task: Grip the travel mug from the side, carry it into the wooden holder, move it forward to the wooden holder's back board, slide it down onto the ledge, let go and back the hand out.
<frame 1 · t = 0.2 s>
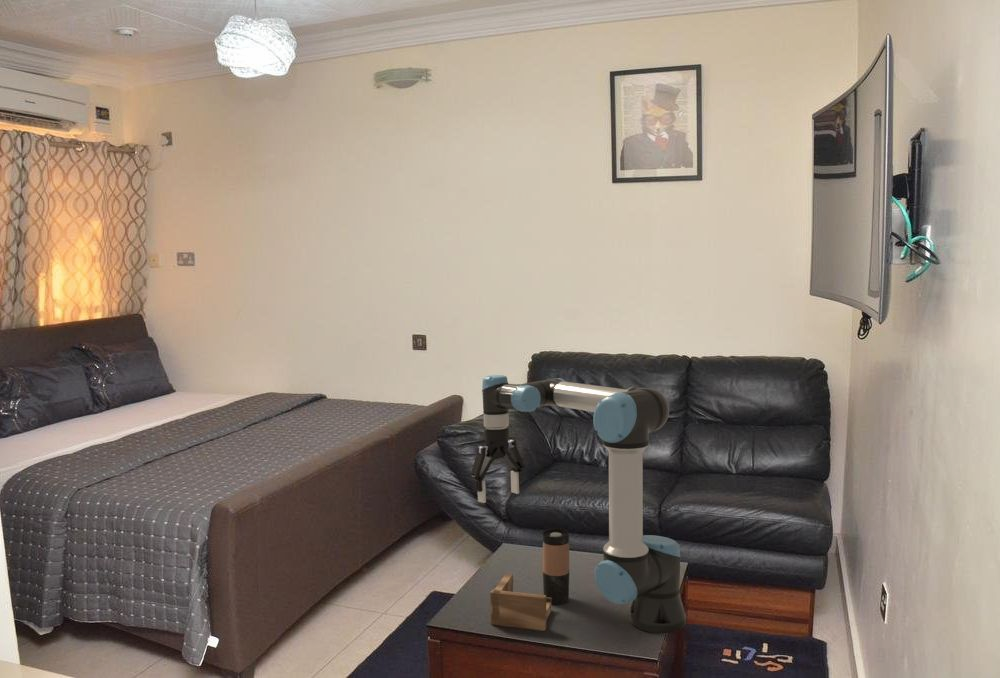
hand: (498, 497, 250), 27 cm above the table, tool pointing down, fingers open, 13 cm apart
travel mug: (556, 600, 241), on the table
wooden holder: (527, 616, 230), on the table
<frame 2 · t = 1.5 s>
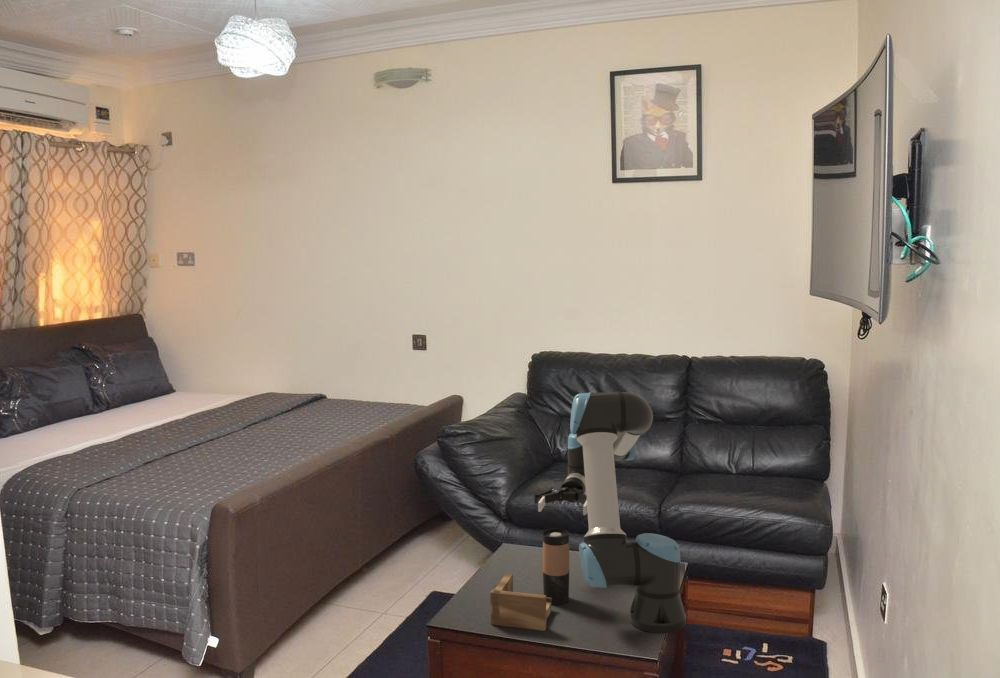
hand: (561, 509, 248), 24 cm above the table, tool horizontal, fingers open, 13 cm apart
nothing on the table moved.
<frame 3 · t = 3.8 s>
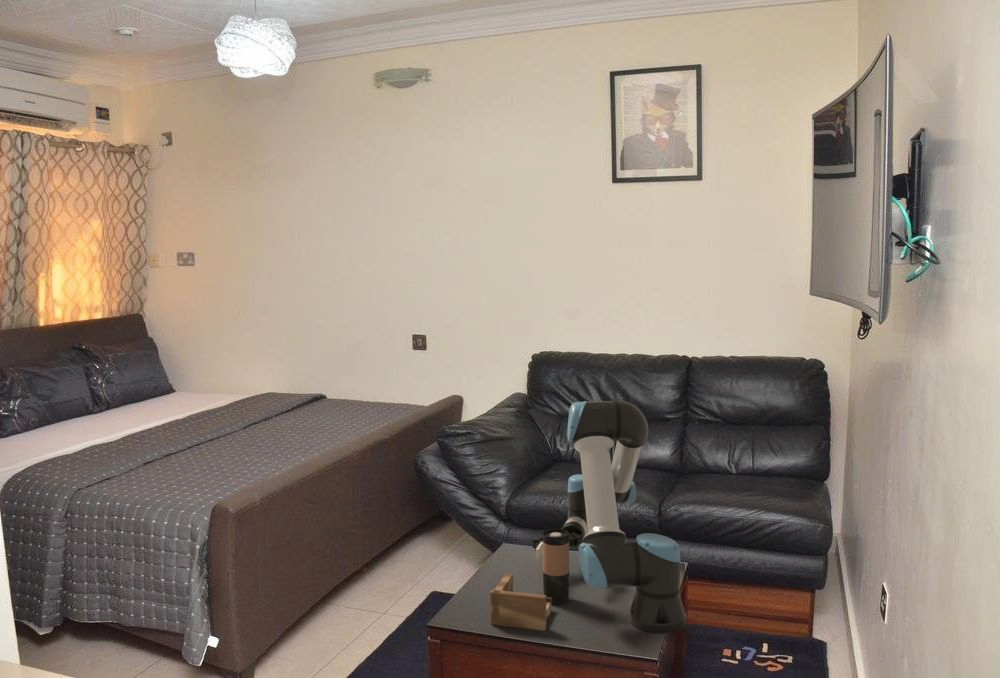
hand: (559, 555, 246), 11 cm above the table, tool horizontal, fingers open, 13 cm apart
nothing on the table moved.
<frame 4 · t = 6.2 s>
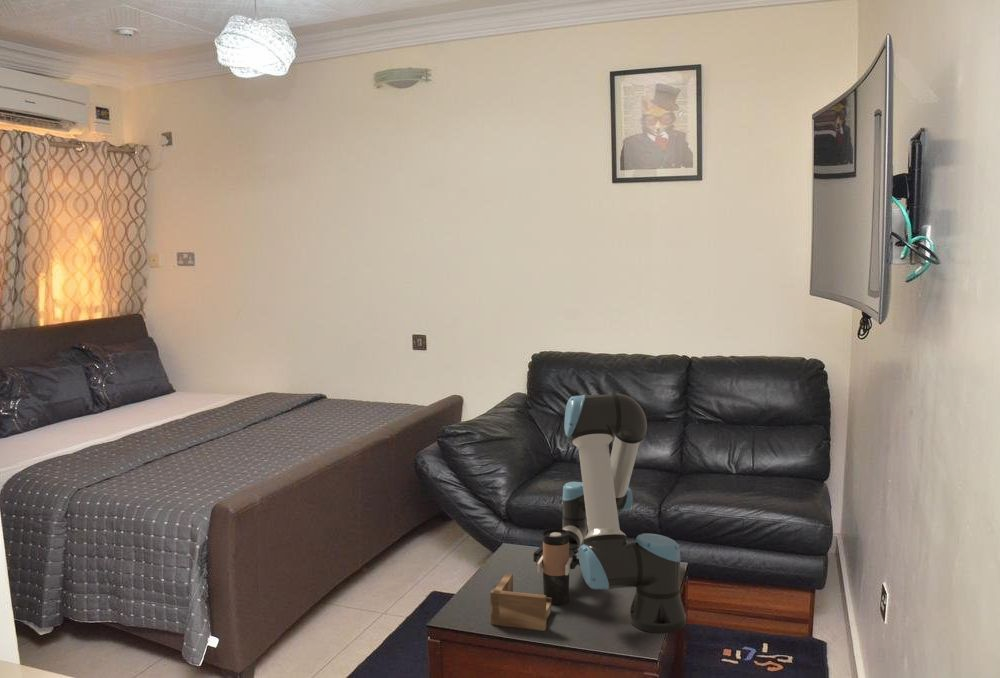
hand: (552, 569, 236), 11 cm above the table, tool horizontal, fingers closed on travel mug, 7 cm apart
travel mug: (556, 600, 241), on the table, touching gripper
everything else where it was.
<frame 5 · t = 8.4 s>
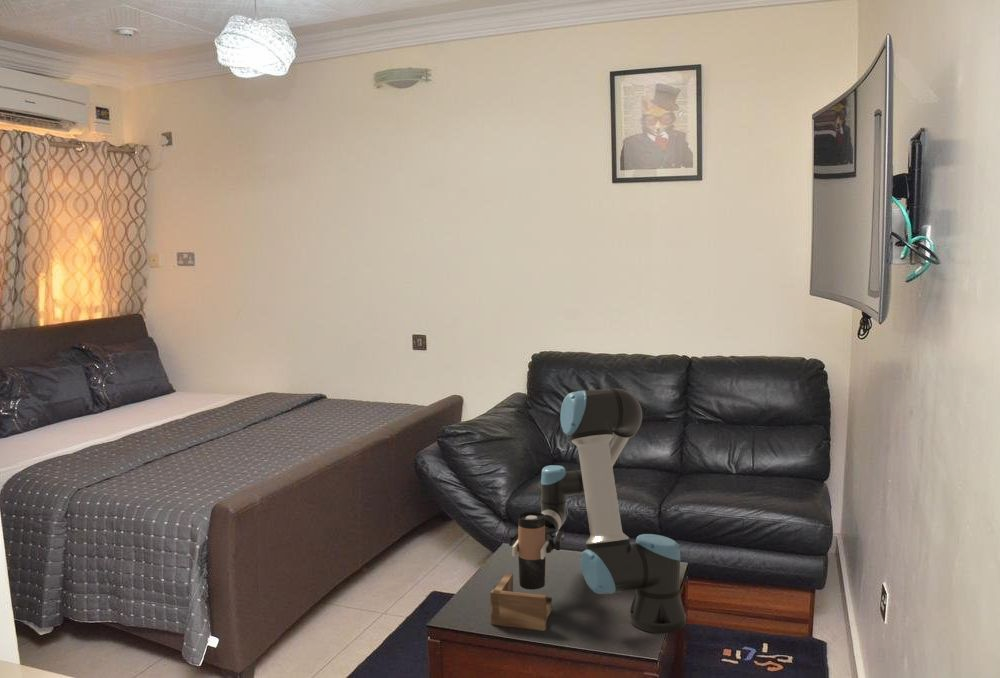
hand: (527, 553, 229), 18 cm above the table, tool horizontal, fingers closed on travel mug, 7 cm apart
travel mug: (532, 585, 235), point 7 cm above the table, touching gripper
everything else where it was.
when the fingers open (15 cm above the table, at t = 11.1 s): travel mug drops 1 cm, resting on wooden holder.
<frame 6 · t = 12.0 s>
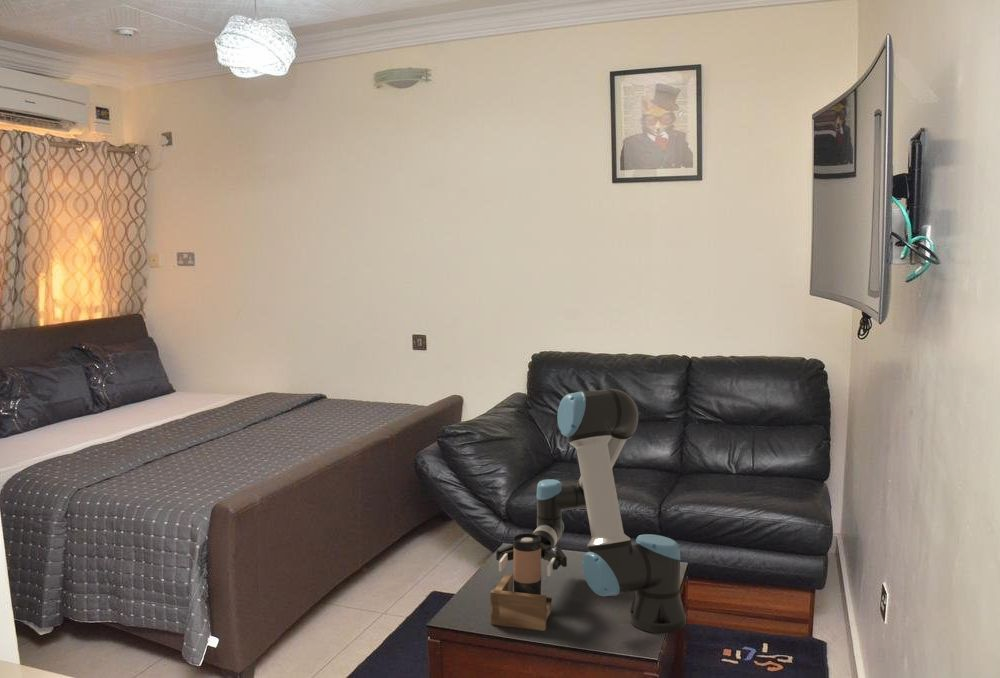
hand: (524, 569, 226), 15 cm above the table, tool horizontal, fingers open, 13 cm apart
travel mug: (527, 608, 230), point 2 cm above the table, touching wooden holder
everything else where it was.
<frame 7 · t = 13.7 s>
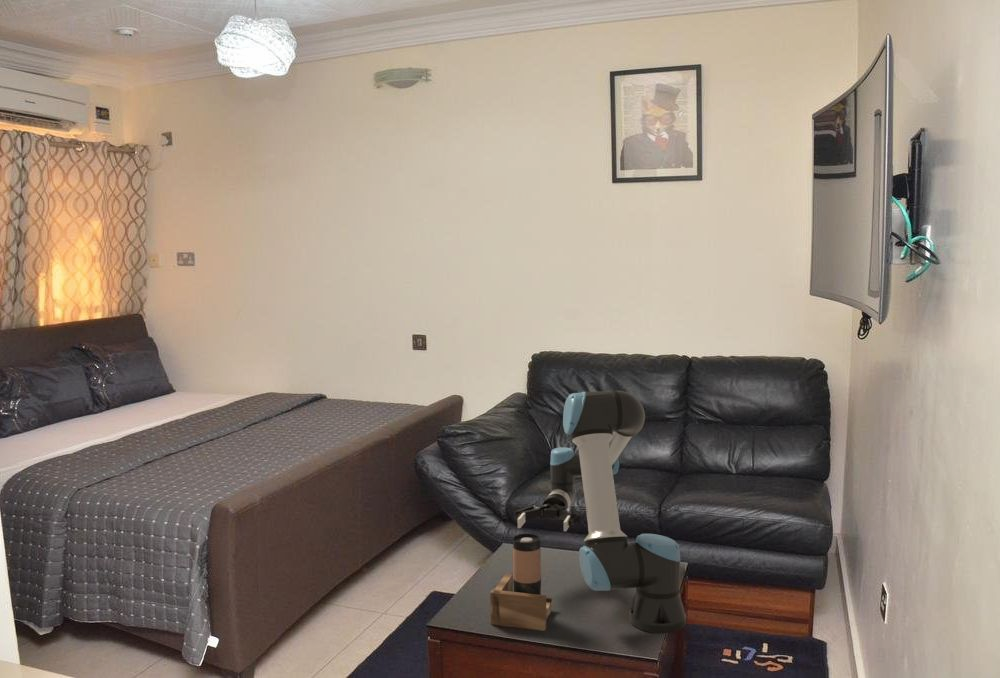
hand: (541, 525, 240), 22 cm above the table, tool horizontal, fingers open, 13 cm apart
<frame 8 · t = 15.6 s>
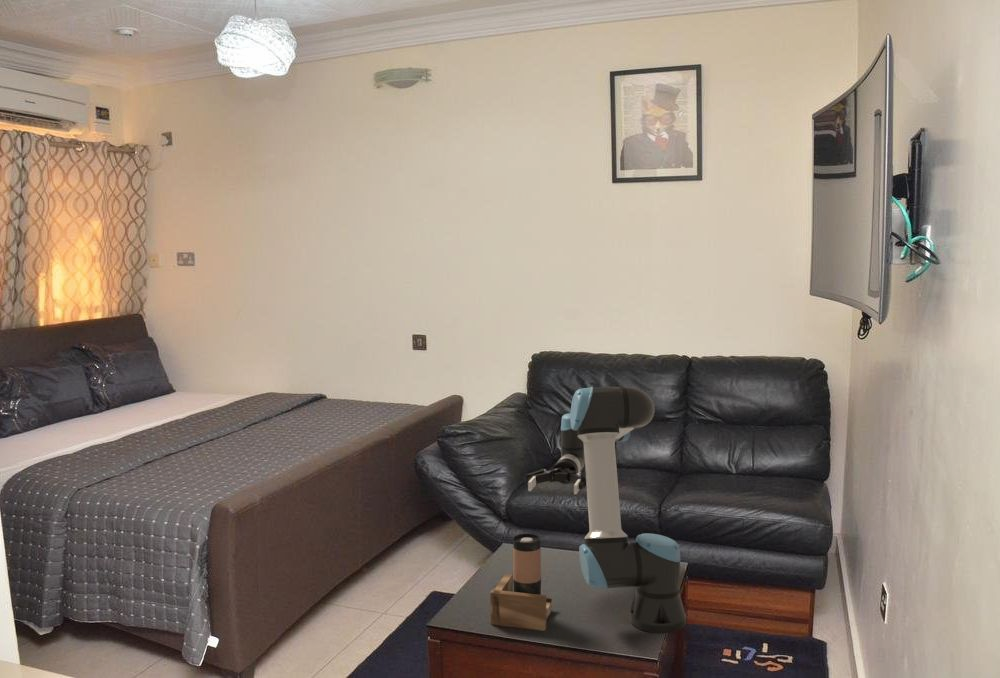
hand: (552, 488, 242), 32 cm above the table, tool horizontal, fingers open, 13 cm apart
at the end: travel mug inside the target area on the wooden holder (0.1 cm from its centre), point 2.3 cm above the wooden holder's base; travel mug tilted 0°; the gripper is holding nothing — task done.
